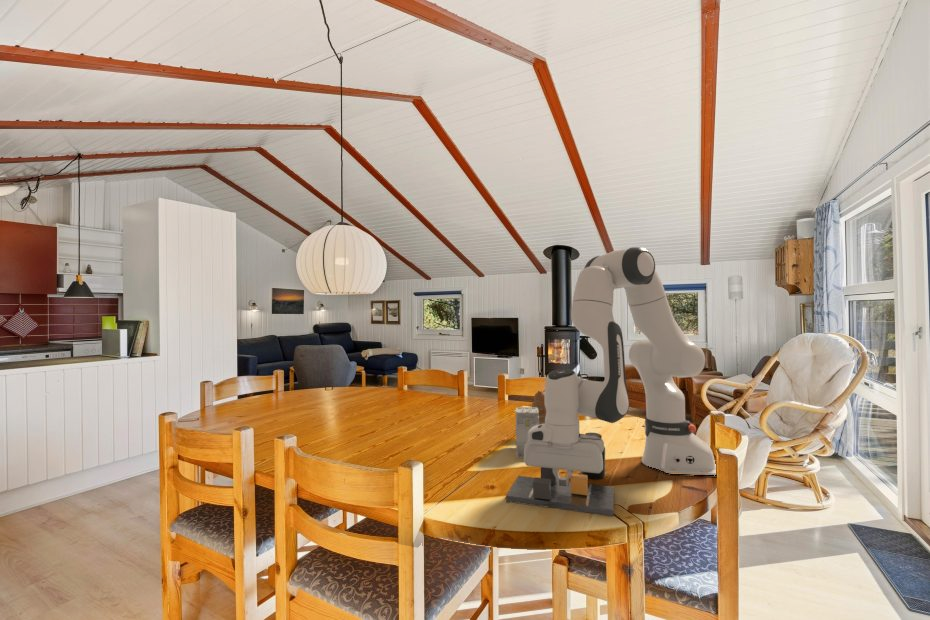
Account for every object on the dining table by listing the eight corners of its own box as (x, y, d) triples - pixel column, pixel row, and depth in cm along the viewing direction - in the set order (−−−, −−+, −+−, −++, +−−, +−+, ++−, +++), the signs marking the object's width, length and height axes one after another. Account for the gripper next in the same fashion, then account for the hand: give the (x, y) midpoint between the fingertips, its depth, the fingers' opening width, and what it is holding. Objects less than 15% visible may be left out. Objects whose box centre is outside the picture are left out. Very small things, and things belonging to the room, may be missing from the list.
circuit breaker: (536, 444, 159) (536, 403, 159) (539, 458, 144) (539, 412, 144) (516, 444, 159) (515, 403, 159) (516, 457, 145) (516, 412, 145)
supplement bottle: (582, 479, 126) (582, 437, 126) (579, 470, 133) (579, 431, 133) (607, 480, 125) (606, 438, 125) (603, 471, 132) (602, 431, 132)
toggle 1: (557, 478, 122) (556, 464, 122) (555, 482, 119) (555, 468, 119) (542, 477, 123) (542, 462, 123) (540, 481, 120) (540, 466, 120)
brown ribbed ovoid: (544, 440, 163) (543, 392, 163) (527, 436, 169) (526, 390, 169) (557, 435, 170) (556, 389, 170) (540, 431, 175) (539, 386, 175)
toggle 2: (551, 494, 111) (550, 479, 111) (549, 499, 109) (548, 483, 109) (535, 492, 113) (535, 477, 113) (533, 497, 110) (532, 481, 110)
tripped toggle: (587, 490, 114) (587, 475, 114) (586, 495, 111) (586, 479, 111) (572, 488, 115) (571, 473, 115) (570, 493, 112) (570, 477, 112)
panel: (614, 492, 117) (614, 486, 117) (613, 516, 103) (613, 508, 103) (518, 481, 125) (518, 475, 125) (506, 501, 112) (506, 494, 112)
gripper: (604, 432, 114) (605, 485, 114) (526, 426, 121) (527, 476, 121) (603, 439, 108) (604, 495, 108) (521, 432, 115) (522, 485, 115)
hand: (563, 485), depth 114 cm, fingers closed
